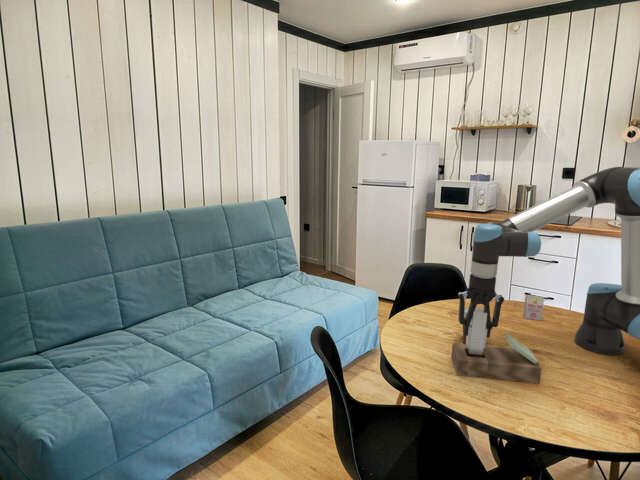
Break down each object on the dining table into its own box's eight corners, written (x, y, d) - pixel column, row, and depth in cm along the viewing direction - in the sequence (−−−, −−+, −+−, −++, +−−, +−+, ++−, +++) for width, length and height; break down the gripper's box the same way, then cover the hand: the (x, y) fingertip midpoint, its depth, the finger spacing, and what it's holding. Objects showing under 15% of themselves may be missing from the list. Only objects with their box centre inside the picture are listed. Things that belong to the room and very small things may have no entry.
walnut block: (527, 364, 136) (529, 350, 135) (539, 383, 124) (541, 368, 123) (451, 356, 140) (452, 342, 139) (456, 375, 128) (458, 360, 127)
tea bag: (522, 315, 177) (525, 293, 175) (540, 318, 174) (543, 295, 172) (523, 318, 174) (525, 295, 172) (541, 321, 171) (544, 298, 169)
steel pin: (479, 349, 134) (484, 308, 131) (482, 355, 130) (487, 313, 127) (467, 347, 134) (471, 307, 131) (469, 353, 130) (473, 311, 127)
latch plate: (529, 353, 133) (531, 351, 133) (537, 365, 125) (539, 363, 125) (504, 335, 133) (506, 333, 133) (511, 347, 126) (513, 344, 125)
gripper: (509, 273, 129) (500, 342, 134) (452, 269, 132) (446, 337, 136) (516, 280, 122) (506, 353, 126) (455, 276, 124) (449, 348, 129)
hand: (475, 345), depth 131 cm, fingers closed on steel pin, 4 cm apart
